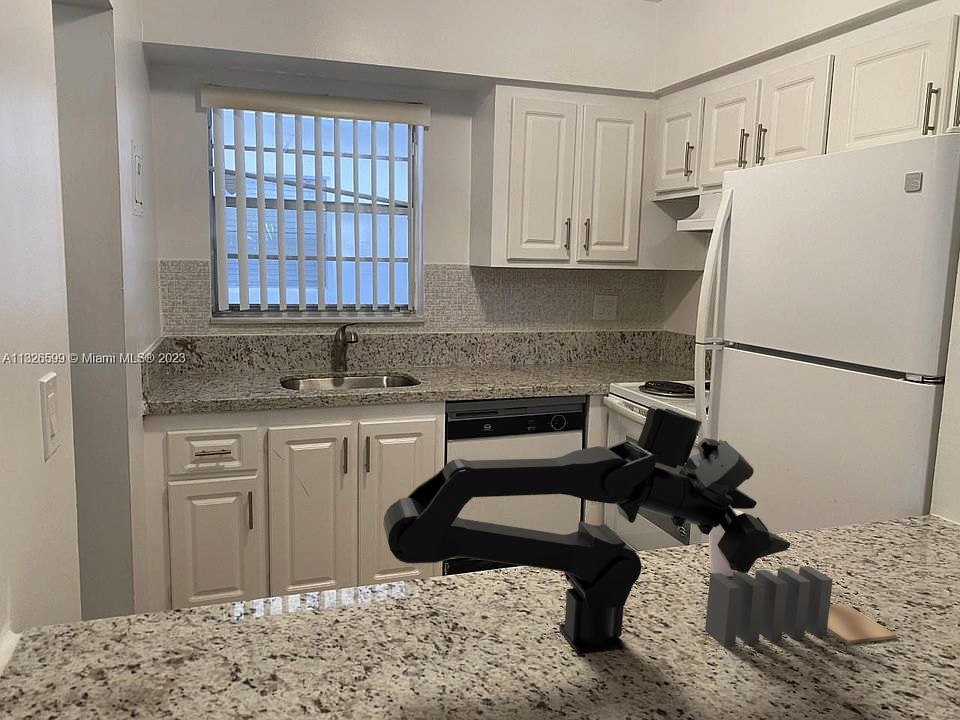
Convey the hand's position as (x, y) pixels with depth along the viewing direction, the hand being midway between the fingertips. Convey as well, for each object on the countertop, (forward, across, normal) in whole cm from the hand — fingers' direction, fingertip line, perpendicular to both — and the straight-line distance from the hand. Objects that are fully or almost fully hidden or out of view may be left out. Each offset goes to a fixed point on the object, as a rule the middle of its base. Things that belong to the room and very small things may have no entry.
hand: (770, 524), depth 97 cm
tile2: (0, -6, +14) cm, 15 cm away
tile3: (+4, -6, +13) cm, 15 cm away
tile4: (+7, -5, +12) cm, 15 cm away
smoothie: (+9, +13, +17) cm, 23 cm away
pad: (+16, -4, +9) cm, 19 cm away
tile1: (-3, -7, +15) cm, 16 cm away
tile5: (+10, -5, +11) cm, 16 cm away
